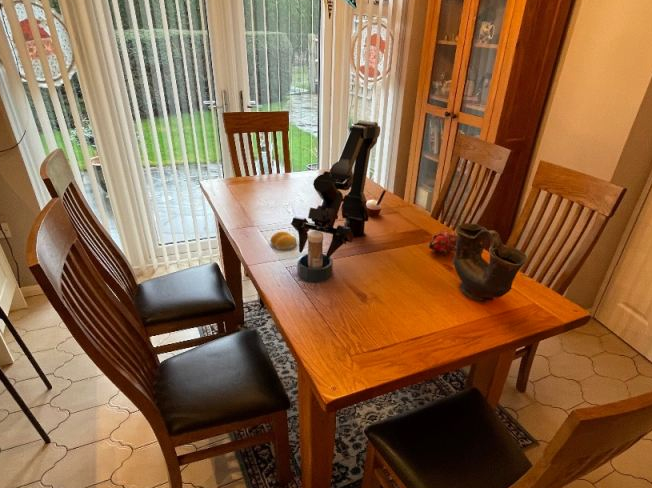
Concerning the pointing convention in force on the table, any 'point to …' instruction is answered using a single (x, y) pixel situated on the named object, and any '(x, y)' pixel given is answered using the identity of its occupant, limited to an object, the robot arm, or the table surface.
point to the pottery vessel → (484, 263)
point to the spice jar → (315, 249)
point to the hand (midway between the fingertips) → (313, 255)
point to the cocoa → (375, 206)
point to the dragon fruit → (443, 243)
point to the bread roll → (283, 240)
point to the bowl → (314, 270)
